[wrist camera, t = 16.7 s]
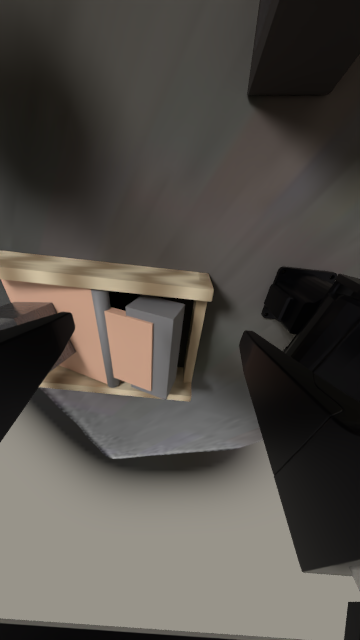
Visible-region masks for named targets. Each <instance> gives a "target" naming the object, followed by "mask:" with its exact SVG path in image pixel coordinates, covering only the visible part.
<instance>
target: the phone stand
mask: <svg viewBox="0 0 360 640" xmlns="http://www.w3.org/2000/svg"><path fill="white" fill-rule="evenodd" d="M359 54H360V0H260V3H259V11H258V18H257V25H256V33H255V40H254V48H253V55H252V62H251V70H250V77H249V85H248V92H247V95H321V94H330V92H331V91H332V90H333V88H334V87H335V86H336V84H337V83H338V82H339V80H340V79H341V78H342V76H343V75H344V74H345V72H346V71H347V70H348V68H349V67H350V66H351V64H352V63H353V62H354V60H355V59H356V58H357V56H358V55H359Z"/></svg>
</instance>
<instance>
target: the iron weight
mask: <svg viewBox="0 0 360 640" xmlns="http://www.w3.org/2000/svg"><path fill="white" fill-rule="evenodd" d="M56 313H57V311H56V309H55V307H54V305H53V303H52V302H12V303H10V304H7V305H4V306H1V307H0V330H3V329H6V328H9V327H13V326H16V325H19V324H23V323H26V322H29V321H33V320H36V319H39V318H43V317H46V316H49V315H53V314H56ZM74 353H76V350H75V348H74V346H73V344H72V342H71V340H69V342H68V344H67V345H66V347H65V349H64V351H63V353H62V354H61V356H60V357H59V359H58V360H57V362H56V363H55V365H54V366H53V367H52V369H51V370H50V372H51V371H52V370H53V369H55V368H56V367H57V366H59V365H60V364H61V363H62V362H64V361H65V360H66V359H68V358H69V357H70V356H72V355H73V354H74Z"/></svg>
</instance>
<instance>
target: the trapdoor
mask: <svg viewBox="0 0 360 640" xmlns="http://www.w3.org/2000/svg"><path fill="white" fill-rule="evenodd" d="M1 281H2V283H3V285H4V287H5V290H6V292H7V294H8V296H9V299H10V301H11V303H12V302H52V303H53V305H54V307H55V309H56V311H57V313H59V312H70V313H72V315H73V319H74V323H75V331H74V333H73V334H72V336H71V338H70V340H71V342H72V344H73V346H74V348H75V350H76V353H74V354H73V355H72V356H70V357H69V358H68V359H66V360H65V361H64V362H62V363H61V364H60V366H62V367H65V368H67V369H70V370H72V371H75V372H78V373H80V374H83V375H85V376H88V377H90V378H93V379H95V380H98V381H100V382H103V383H106V384H108V386H109V387H110V388H115V387H117V386H118V385H119V383H120V380H122V381H125V382H127V383H130V384H131V387H132V388H135V389H138V390H140V391H143V392H146V393H148V394H151V395H153V396H156V397H159V398H161V399H164V400H166V399H167V397H168V395H169V393H170V391H171V388H172V386H173V384H174V382H175V380H176V372H177V364H178V356H179V349H180V341H181V333H182V325H183V317H184V309H185V304H182V303H178V302H174V301H170V300H166V299H161V298H157V297H153V296H149V295H144V294H143V295H141V296H140V297H138V298H137V299H136V300H134V301H133V302H131V303H130V304H128V305H127V306H126V307H125V308H126V311H124V310H120V309H116V308H113V307H111V306H110V297H109V291H106V290H97V289H88V288H78V287H69V286H60V285H50V284H41V283H32V282H22V281H13V280H4V279H1Z"/></svg>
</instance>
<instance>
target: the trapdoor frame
mask: <svg viewBox="0 0 360 640" xmlns="http://www.w3.org/2000/svg"><path fill="white" fill-rule="evenodd" d="M0 279H4V280H13V281H22V282H32V283H41V284H50V285H60V286H69V287H78V288H88V289H97V290H106V291H116V292H125V293H134V294H144V295H153V296H162V297H172V298H181V299H190V300H194V303H193V309H192V316H191V322H190V329H189V335H188V342H187V348H186V355H185V361H184V367H177V372H176V380H175V382H174V384H173V386H172V388H171V391H170V393H169V395H168V397H167V399H169V400H179V401H189V402H190V400H191V381H192V376H193V371H194V366H195V361H196V356H197V351H198V346H199V341H200V336H201V331H202V326H203V321H204V316H205V311H206V306H207V301H209V302H211V301H212V296H213V292H214V289H213V286H212V283H211V280H210V277H209V274H208V273H200V272H191V271H182V270H173V269H163V268H154V267H145V266H136V265H127V264H118V263H109V262H100V261H91V260H82V259H73V258H64V257H54V256H45V255H36V254H27V253H18V252H9V251H0ZM39 387H44V388H55V389H65V390H75V391H86V392H96V393H106V394H117V395H127V396H138V397H148V398H158V399H161V398H159V397H156V396H153V395H151V394H148V393H146V392H143V391H140V390H138V389H135V388H132V387H131V384H130V383H127V382H125V381H122V380H120V383H119V385H118V386H117V387H115V388H110V387H109V386H108V384H106V383H103V382H100V381H98V380H95V379H93V378H90V377H88V376H85V375H83V374H80V373H78V372H75V371H72V370H70V369H67V368H65V367H62V366H60V365H59V366H57V367H56V368H55V369H53V370H52V371H51V372H49V373H48V375H47V376H46V377H45V379H44V380H43V382H42V383H41V385H40V386H39Z"/></svg>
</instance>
